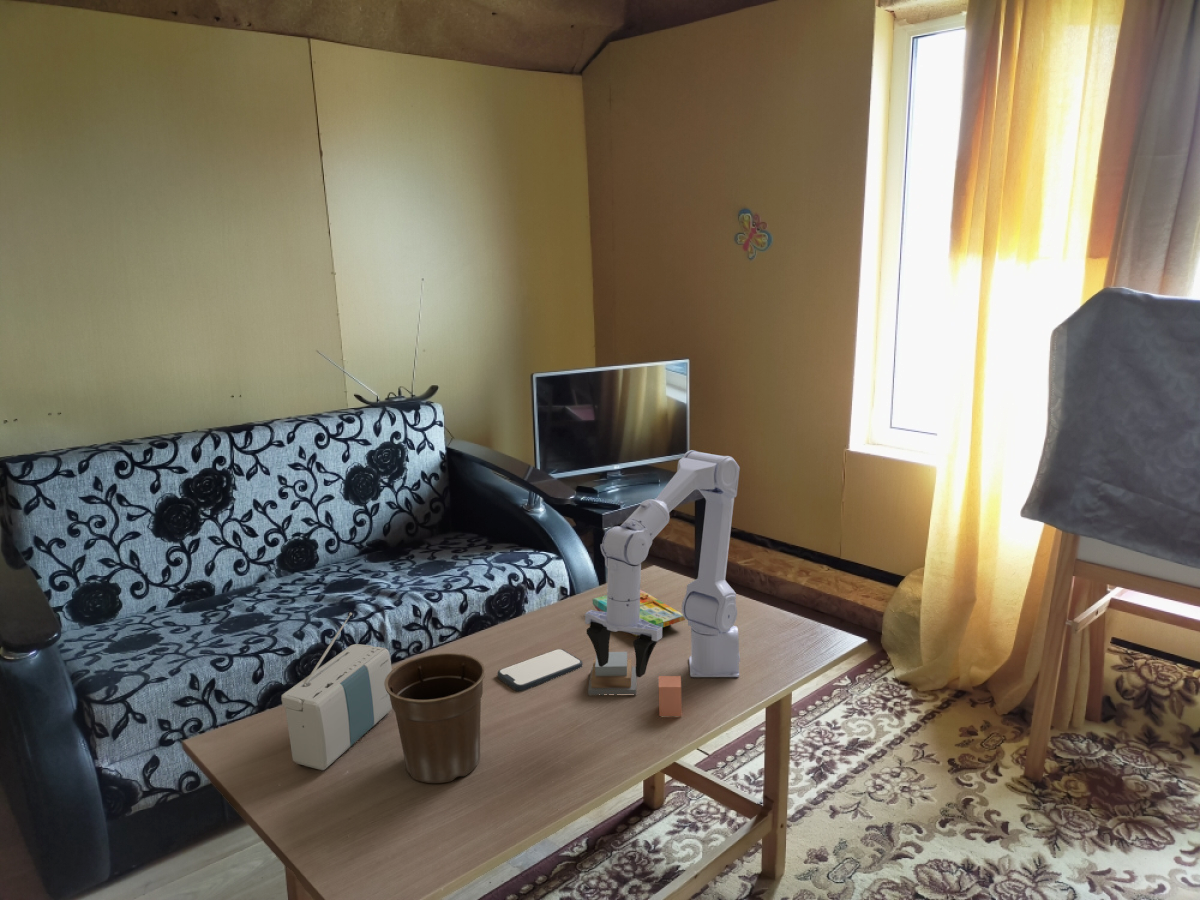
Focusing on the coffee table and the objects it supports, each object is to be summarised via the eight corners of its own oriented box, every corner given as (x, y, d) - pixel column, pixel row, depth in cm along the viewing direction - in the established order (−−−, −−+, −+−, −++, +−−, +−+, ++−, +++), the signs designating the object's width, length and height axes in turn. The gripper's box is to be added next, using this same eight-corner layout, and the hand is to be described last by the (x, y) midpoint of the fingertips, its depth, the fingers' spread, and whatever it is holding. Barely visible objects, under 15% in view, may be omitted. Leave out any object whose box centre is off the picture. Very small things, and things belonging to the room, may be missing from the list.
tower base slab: (637, 675, 168) (637, 666, 168) (635, 699, 160) (635, 689, 159) (592, 675, 169) (591, 666, 169) (588, 699, 160) (588, 689, 160)
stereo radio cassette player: (326, 777, 139) (312, 666, 134) (286, 768, 141) (270, 659, 137) (398, 711, 158) (388, 612, 153) (361, 705, 160) (350, 607, 156)
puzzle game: (634, 583, 201) (685, 611, 185) (635, 601, 202) (685, 631, 186) (592, 595, 196) (640, 625, 179) (593, 613, 197) (641, 645, 180)
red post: (681, 705, 156) (680, 676, 154) (681, 717, 152) (681, 687, 150) (659, 705, 156) (658, 676, 154) (659, 717, 152) (658, 687, 151)
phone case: (560, 654, 179) (495, 677, 169) (560, 647, 178) (494, 670, 169) (585, 669, 172) (518, 694, 162) (585, 662, 171) (518, 687, 162)
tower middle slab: (632, 668, 167) (631, 659, 167) (630, 687, 160) (630, 677, 160) (594, 668, 168) (593, 659, 167) (591, 687, 161) (591, 678, 160)
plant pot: (408, 735, 149) (399, 652, 146) (498, 734, 149) (492, 650, 145) (382, 793, 134) (371, 701, 130) (483, 792, 133) (475, 699, 129)
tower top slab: (627, 660, 166) (627, 651, 166) (627, 675, 160) (626, 666, 160) (596, 661, 167) (596, 652, 166) (595, 676, 161) (595, 666, 160)
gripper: (575, 594, 147) (574, 667, 149) (649, 611, 139) (646, 688, 141) (597, 583, 152) (596, 654, 155) (668, 599, 145) (666, 673, 147)
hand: (621, 669), depth 148 cm, fingers open, 7 cm apart
